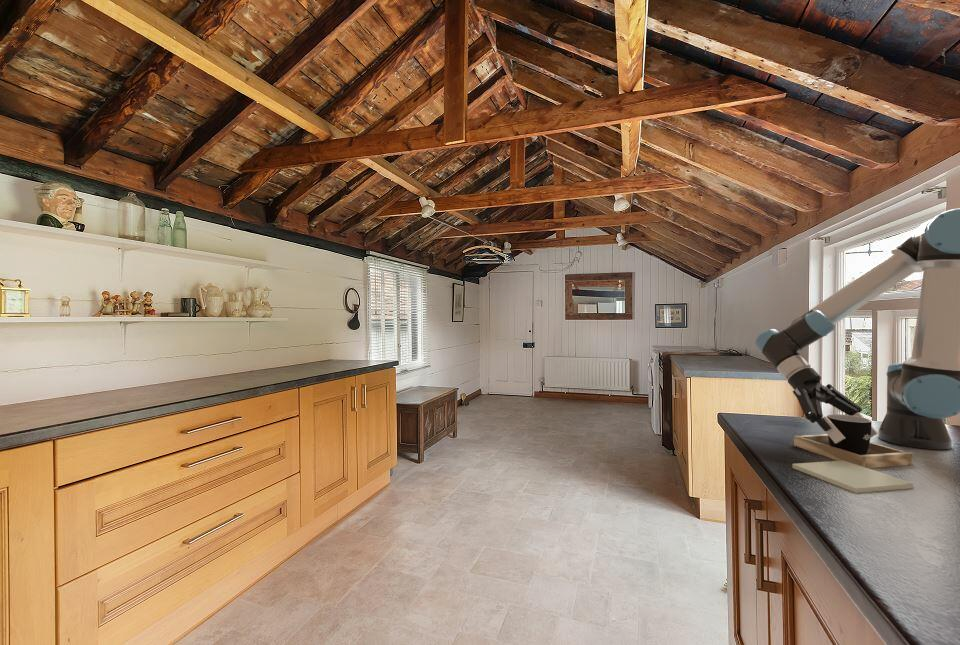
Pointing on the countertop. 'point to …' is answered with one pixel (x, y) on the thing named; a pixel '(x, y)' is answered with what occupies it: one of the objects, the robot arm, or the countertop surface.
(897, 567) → the countertop surface
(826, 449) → the rectangular wooden frame
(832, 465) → the tile
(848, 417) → the mug
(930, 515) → the countertop surface
